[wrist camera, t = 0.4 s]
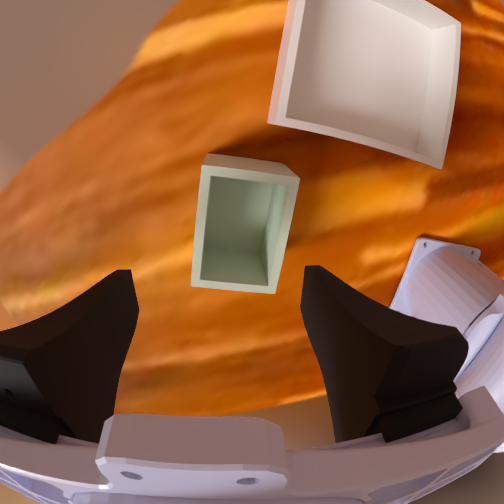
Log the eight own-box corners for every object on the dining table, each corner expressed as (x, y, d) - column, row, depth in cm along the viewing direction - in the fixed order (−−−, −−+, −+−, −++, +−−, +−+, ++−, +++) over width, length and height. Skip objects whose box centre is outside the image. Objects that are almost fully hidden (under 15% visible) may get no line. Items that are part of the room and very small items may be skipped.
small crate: (207, 152, 19) (202, 164, 14) (282, 163, 19) (300, 178, 15) (197, 249, 22) (190, 285, 17) (264, 256, 22) (275, 293, 18)
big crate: (434, 29, 15) (460, 23, 12) (414, 160, 20) (441, 170, 17) (292, -27, 13) (304, -48, 10) (266, 122, 18) (274, 124, 15)
